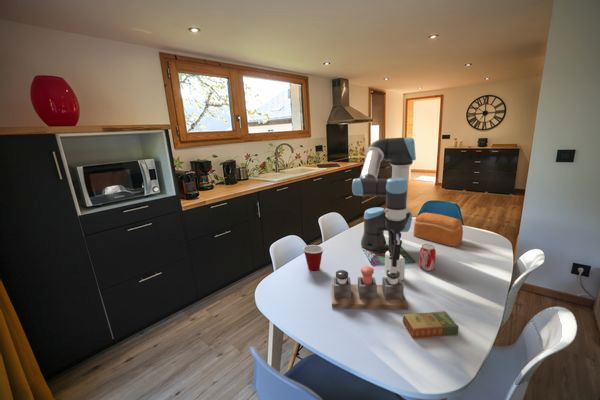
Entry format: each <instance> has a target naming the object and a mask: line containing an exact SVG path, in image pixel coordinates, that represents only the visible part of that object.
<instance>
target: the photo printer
mask: <svg viewBox="0 0 600 400" xmlns="http://www.w3.org/2000/svg"><path fill="white" fill-rule="evenodd" d="M389 257H391V256H390V253H389V250H387V251H385V253H384V273H385V274H386V272H387V270H389V268H390V259H389ZM405 266H406V259H405V257H403V255H402V254H400V258H399V260H398V262H397V271H399V272H400V277H399V278H400V280H401V281H404V278H405V268H406V267H405Z"/></svg>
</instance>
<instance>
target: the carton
mask: <svg viewBox="0 0 600 400" xmlns="http://www.w3.org/2000/svg"><path fill="white" fill-rule="evenodd" d="M402 323H403V325H404V327H405V328H406V330H407V332H408V333H409V335H410V337H411V338H412V340H417V339H429V338H431V339H432V338H440V337H441V338H442V337H456V336H458V335H459V329H460V328H459V324H457V323H456V322H455V320H453V318H452V317H451V315H449V314H448V313H447V312H446V310H444V311H442V310H441V311H432V312H431V311H430V312H417V313H406V314H403V316H402Z"/></svg>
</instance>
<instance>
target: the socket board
mask: <svg viewBox="0 0 600 400" xmlns="http://www.w3.org/2000/svg"><path fill="white" fill-rule="evenodd" d="M404 288H405V287H404V285H403V283H402V280H400V278H398V285H388V276H383V277H382V281H381V284H377V282H376V278H375V276H372V285H362V276H357V284H351V277H350V276H348V278H347V285H346V284H337V277H336V276H333V283H331V308H332V309H370V310H372V309H374V310H375V309H376V310H407V311H408V310H409V304H408V302H407V299H406V297H405V294H404Z"/></svg>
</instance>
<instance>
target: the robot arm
mask: <svg viewBox="0 0 600 400" xmlns="http://www.w3.org/2000/svg"><path fill="white" fill-rule="evenodd" d="M415 145H416V144H415V139H414V138H413V137H404V136H403V137H391V138H390V137H387V138H385V137H384V138H380V139H377V140H376V141H374V142H372V143H371V144H369V146H368V147H367V148H366V150H365V151H364V152H365V154H364V158H365V160H364V163H363V166H362V170H361V173H360V176H359V177H358V178H353V179H352V183H351V191H352V194H353V195H354V196H358V197H359V196H360V197H382V198H383V197H384V198H385V208H384V207H380V206H379V207H378V206H377V207H371V208H368V209H366V210H365V211H364V214H363V235H362V237H361V240H360V245H361V247H363V248H364V249H365V250H368V251H380V250H381V251H382V250H384V249H385V248H386V249H387V239H386V237H385V233H384V232H385V231H386V232H388V235H387V236H388V251H389V253H390V256H391V257H389V259H390V268H389V272H390V273H397V262H398V260H399V258H400V255H401V248H402V244H403V240H402V239H401V237H402V233H408V232H409V231H410V230H411V225H412V221H413V220H412V218H413V213H412V212H411V211H410V210H411V209H410V208H409V207H408V200H409V199H408V196H409V195H408V194H409V177H410V166H412V165H413V162H414V161H416V159H417V158H416V146H415ZM382 161H389V164H390V166H391V170H392V171H391V177H389V178H378V176H379V171H380V166H381V162H382Z"/></svg>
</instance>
